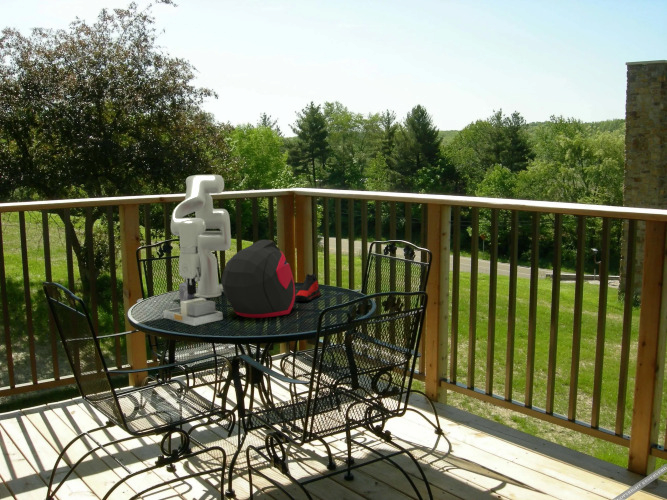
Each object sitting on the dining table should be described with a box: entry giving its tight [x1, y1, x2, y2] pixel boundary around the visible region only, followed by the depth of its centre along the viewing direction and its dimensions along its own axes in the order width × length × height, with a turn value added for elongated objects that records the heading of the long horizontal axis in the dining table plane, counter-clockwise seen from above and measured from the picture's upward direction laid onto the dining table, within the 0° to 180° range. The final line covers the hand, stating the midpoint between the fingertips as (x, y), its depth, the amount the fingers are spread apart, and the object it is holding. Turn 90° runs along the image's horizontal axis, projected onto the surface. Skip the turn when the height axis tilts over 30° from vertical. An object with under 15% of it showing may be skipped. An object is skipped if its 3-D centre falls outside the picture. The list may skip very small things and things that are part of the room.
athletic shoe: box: [294, 273, 322, 302], centre depth 304 cm, size 8×20×12 cm, turn 158°
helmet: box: [220, 239, 296, 319], centre depth 277 cm, size 26×32×30 cm
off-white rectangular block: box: [179, 297, 207, 315], centre depth 270 cm, size 4×10×7 cm, turn 137°
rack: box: [162, 300, 224, 327], centre depth 269 cm, size 22×14×8 cm, turn 47°
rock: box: [178, 281, 195, 305], centre depth 295 cm, size 10×6×10 cm, turn 48°
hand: (191, 293), depth 269 cm, fingers closed
